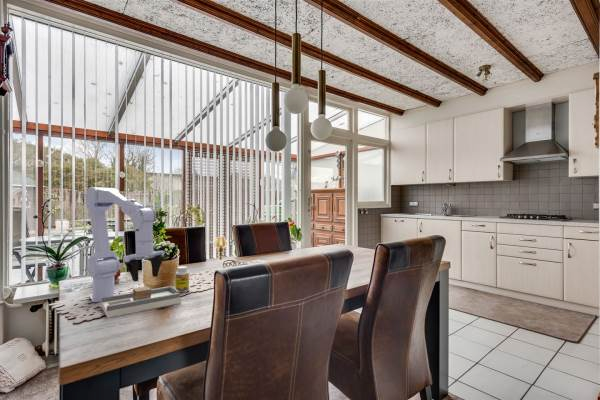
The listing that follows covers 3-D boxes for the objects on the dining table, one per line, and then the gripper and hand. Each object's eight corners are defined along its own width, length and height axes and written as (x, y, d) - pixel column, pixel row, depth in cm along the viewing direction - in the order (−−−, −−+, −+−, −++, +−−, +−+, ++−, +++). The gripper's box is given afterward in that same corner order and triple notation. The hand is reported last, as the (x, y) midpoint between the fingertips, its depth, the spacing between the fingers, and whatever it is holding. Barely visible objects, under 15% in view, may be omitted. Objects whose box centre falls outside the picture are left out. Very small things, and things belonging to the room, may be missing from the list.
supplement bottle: (173, 292, 129) (173, 268, 129) (177, 288, 135) (177, 265, 135) (187, 292, 130) (187, 268, 130) (190, 288, 136) (190, 265, 136)
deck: (101, 306, 112) (101, 295, 112) (169, 294, 127) (169, 284, 127) (107, 317, 101) (107, 305, 101) (180, 303, 116) (180, 292, 116)
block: (132, 298, 114) (133, 288, 114) (147, 296, 118) (147, 286, 118) (136, 302, 110) (136, 291, 110) (150, 299, 114) (151, 289, 114)
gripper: (131, 243, 102) (132, 284, 102) (168, 239, 115) (170, 275, 114) (119, 243, 106) (120, 282, 105) (157, 239, 118) (158, 274, 118)
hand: (145, 278), depth 110 cm, fingers open, 7 cm apart
